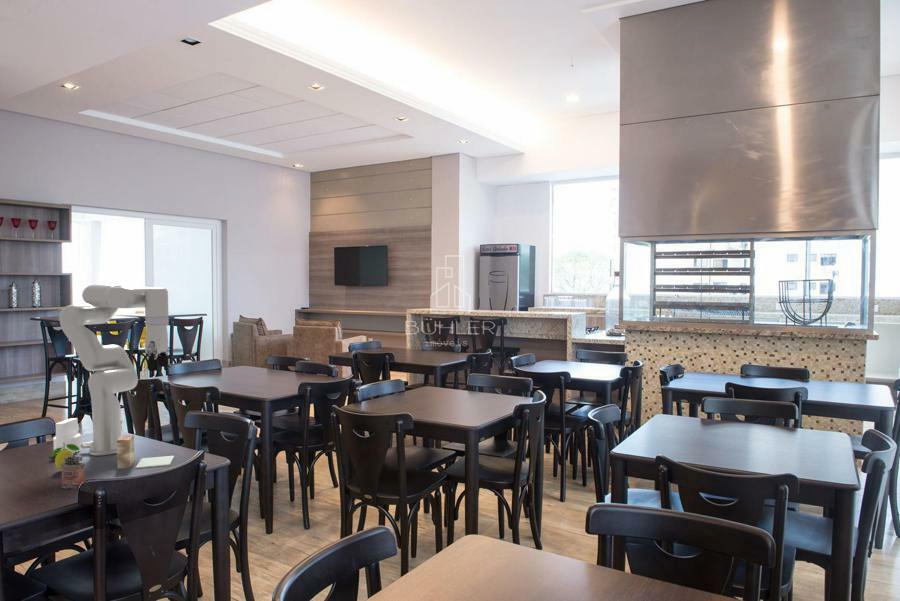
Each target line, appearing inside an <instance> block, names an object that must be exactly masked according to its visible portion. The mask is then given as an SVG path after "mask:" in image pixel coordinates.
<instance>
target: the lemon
mask: <svg viewBox="0 0 900 601" xmlns="http://www.w3.org/2000/svg"><path fill="white" fill-rule="evenodd" d="M63 444H64V442H63ZM64 445H65V444H64ZM66 446H67V448H68V449H70V450H75V451H77V450H80V449H79V447H78V446H76V445H74V444H68V445H66ZM62 448H63V447H62ZM62 448H57V449H55V450H54V449H53V451H52V453H51V455H50V458H52V457H55V459H54V464H55V467H56V468H57V469H59V470H62V467H61V463H65V458H64V457H66V456H72V455H74V453H72V452H71V451H70V450H67V449H65V446H64V449H62ZM61 449H62V450H61ZM60 450H61V451H60ZM56 454H57V455H56Z"/></svg>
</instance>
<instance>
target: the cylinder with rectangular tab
mask: <svg viewBox="0 0 900 601" xmlns="http://www.w3.org/2000/svg"><path fill="white" fill-rule="evenodd" d="M78 422H79V420H78V417H73V418H68V419H65V420H62V421H60V422H57V423H55V436H53V439H52V440H53V441H52V442H53V451H54V450H55V449H57V448H62V447H63V448H62V449H64V446H65V449H67V450H70V449H68V448H67V446H66V445H68V444H74V445H76V446H78V447H79V449H80V450H77V451H75V450H70V451H71V452H72V453H73V454H76V453H75V452H77V453H79V452H81V451H82V448H81V443H82V434H81V433H79V424H78ZM63 442H64V444H65V445H64V444H63ZM62 449H61V450H62ZM61 450H60V451H61ZM78 451H79V452H78Z"/></svg>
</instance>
